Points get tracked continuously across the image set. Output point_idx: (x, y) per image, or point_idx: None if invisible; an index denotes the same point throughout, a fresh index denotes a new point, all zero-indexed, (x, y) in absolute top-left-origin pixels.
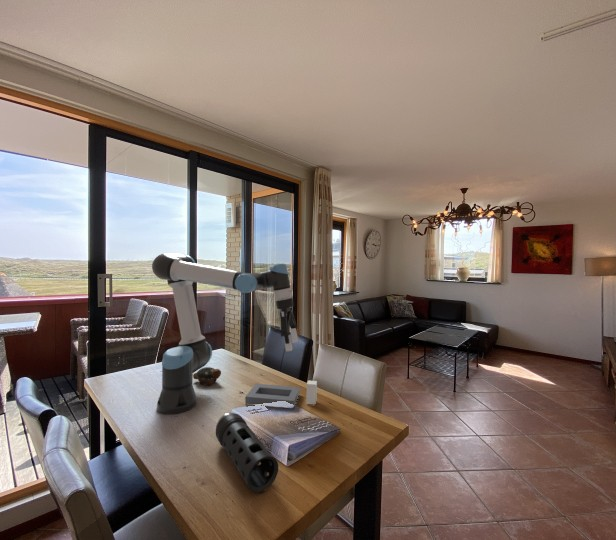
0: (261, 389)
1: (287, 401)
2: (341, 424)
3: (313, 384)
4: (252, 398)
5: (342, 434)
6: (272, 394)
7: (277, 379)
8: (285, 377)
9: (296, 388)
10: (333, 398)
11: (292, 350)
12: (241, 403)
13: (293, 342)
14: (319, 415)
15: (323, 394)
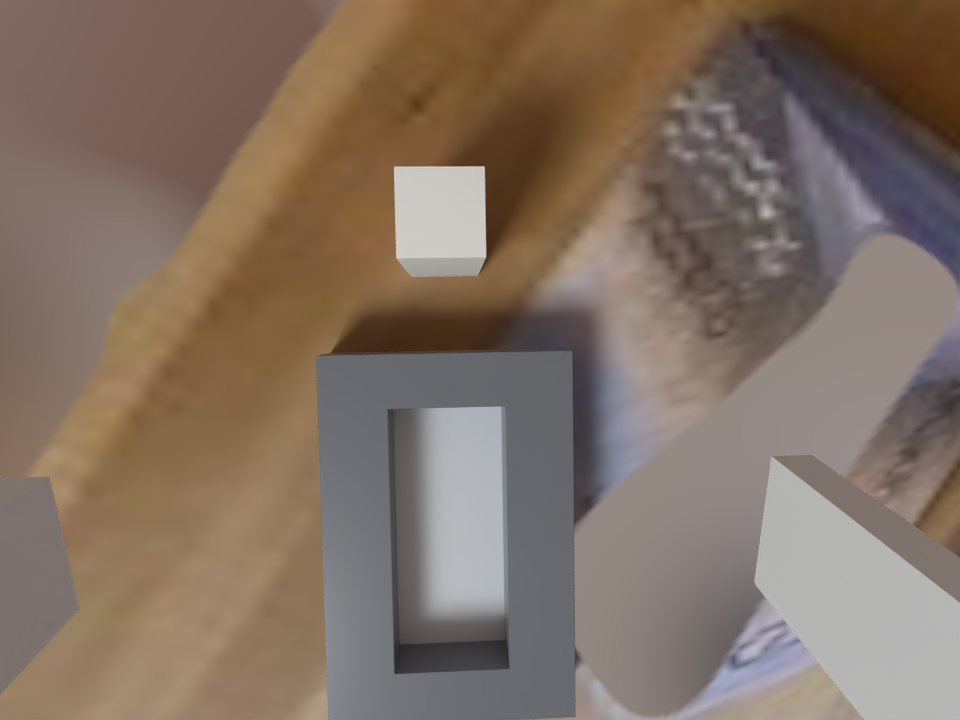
0: (395, 649)
1: (571, 398)
2: (690, 13)
3: (482, 191)
4: (572, 658)
5: (798, 4)
6: (396, 548)
7: None
8: None
9: (347, 377)
10: (333, 85)
11: (802, 455)
12: None
13: (67, 592)
14: (606, 164)
15: (280, 169)
